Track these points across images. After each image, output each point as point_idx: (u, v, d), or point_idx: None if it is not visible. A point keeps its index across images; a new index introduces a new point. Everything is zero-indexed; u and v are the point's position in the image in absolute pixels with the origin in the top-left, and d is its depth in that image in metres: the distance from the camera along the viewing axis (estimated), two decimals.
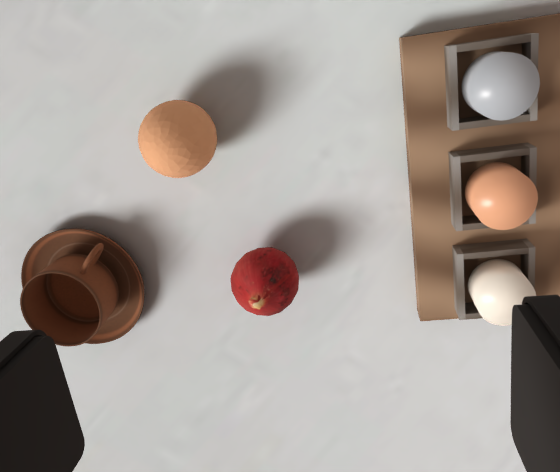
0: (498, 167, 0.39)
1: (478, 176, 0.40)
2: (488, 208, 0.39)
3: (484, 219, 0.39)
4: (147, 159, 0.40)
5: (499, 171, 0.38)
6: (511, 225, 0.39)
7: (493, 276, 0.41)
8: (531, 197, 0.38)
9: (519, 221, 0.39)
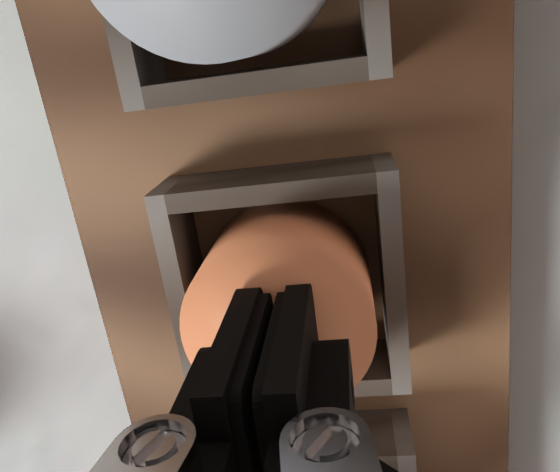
0: (264, 221, 0.12)
1: (214, 244, 0.13)
2: None
3: None
4: None
5: (252, 237, 0.11)
6: None
7: None
8: (356, 325, 0.12)
9: None
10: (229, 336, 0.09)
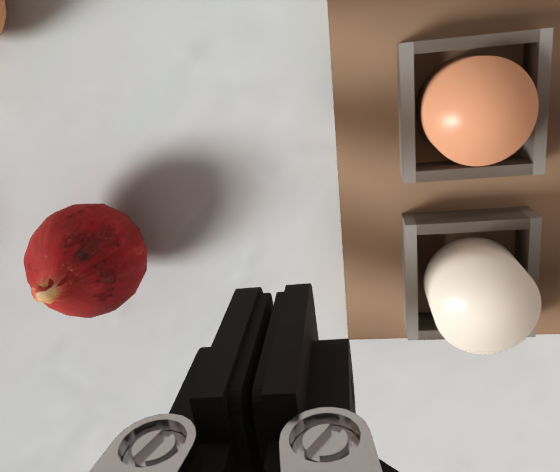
0: (471, 56, 0.22)
1: (436, 73, 0.23)
2: (451, 124, 0.22)
3: (443, 145, 0.22)
4: None
5: (473, 56, 0.21)
6: (491, 159, 0.22)
7: (465, 262, 0.22)
8: (527, 106, 0.21)
9: (504, 151, 0.22)
10: (229, 336, 0.09)
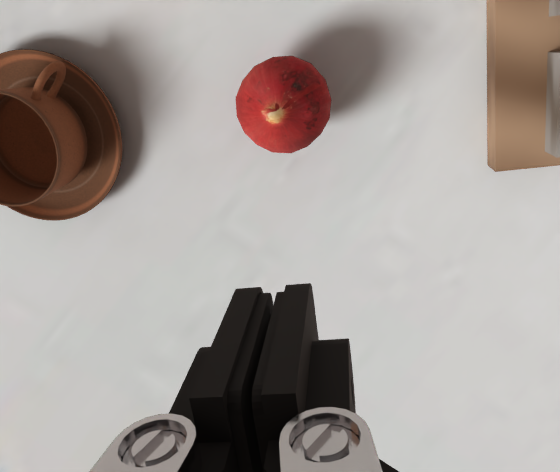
0: None
1: None
2: None
3: None
4: None
5: None
6: None
7: None
8: None
9: None
10: (229, 336, 0.09)
